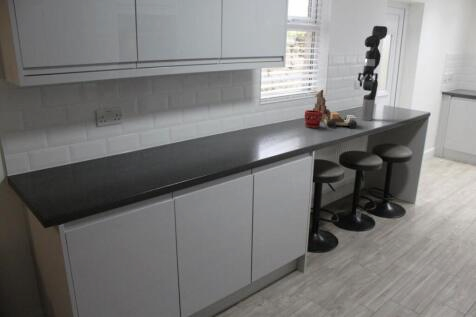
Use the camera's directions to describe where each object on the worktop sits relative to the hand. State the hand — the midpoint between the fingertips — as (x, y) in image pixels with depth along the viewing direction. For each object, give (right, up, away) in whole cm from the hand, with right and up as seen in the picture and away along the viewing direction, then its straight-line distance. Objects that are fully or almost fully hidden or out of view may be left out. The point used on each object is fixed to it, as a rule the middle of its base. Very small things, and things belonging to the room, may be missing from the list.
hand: (366, 86), depth 299 cm
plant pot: (-42, -31, -1) cm, 52 cm away
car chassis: (-19, -29, +6) cm, 35 cm away
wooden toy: (-31, -23, +23) cm, 45 cm away
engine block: (-23, -26, +5) cm, 35 cm away
